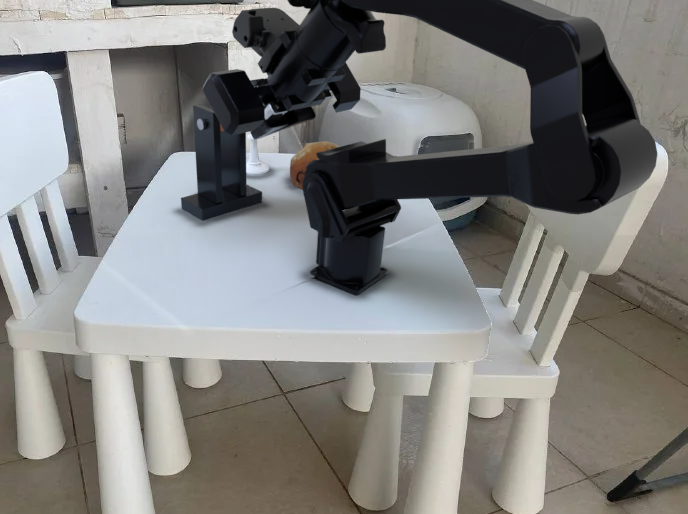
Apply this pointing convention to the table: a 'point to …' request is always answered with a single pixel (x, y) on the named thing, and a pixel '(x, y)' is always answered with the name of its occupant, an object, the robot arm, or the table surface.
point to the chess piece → (255, 159)
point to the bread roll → (306, 160)
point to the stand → (218, 170)
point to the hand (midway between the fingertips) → (254, 135)
